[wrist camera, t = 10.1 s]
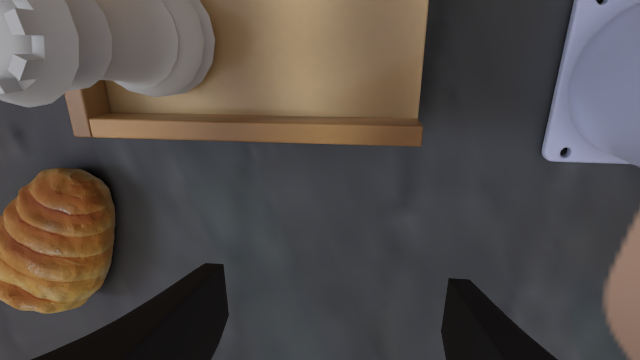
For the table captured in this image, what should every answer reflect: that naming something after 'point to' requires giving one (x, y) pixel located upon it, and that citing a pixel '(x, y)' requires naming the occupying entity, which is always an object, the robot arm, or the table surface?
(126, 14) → the rook chess piece
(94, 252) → the pastry
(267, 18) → the wooden tray
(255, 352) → the table surface
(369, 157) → the table surface
